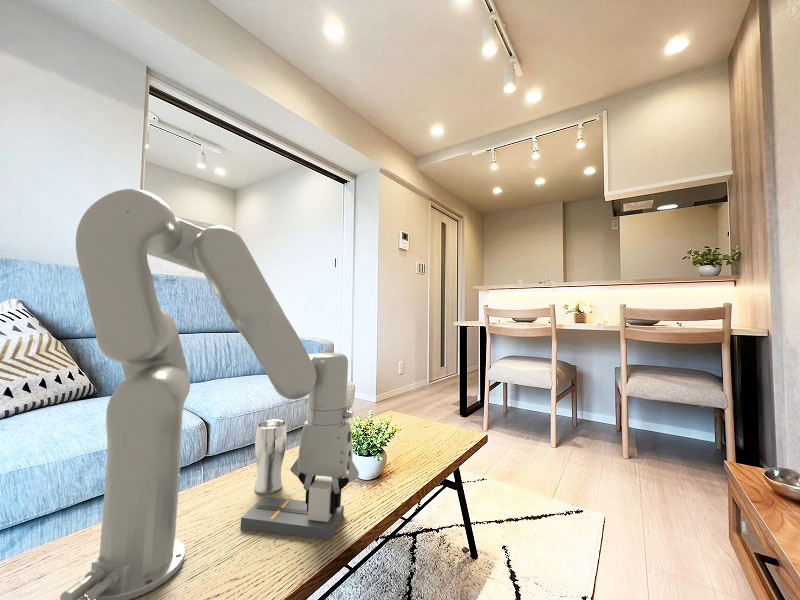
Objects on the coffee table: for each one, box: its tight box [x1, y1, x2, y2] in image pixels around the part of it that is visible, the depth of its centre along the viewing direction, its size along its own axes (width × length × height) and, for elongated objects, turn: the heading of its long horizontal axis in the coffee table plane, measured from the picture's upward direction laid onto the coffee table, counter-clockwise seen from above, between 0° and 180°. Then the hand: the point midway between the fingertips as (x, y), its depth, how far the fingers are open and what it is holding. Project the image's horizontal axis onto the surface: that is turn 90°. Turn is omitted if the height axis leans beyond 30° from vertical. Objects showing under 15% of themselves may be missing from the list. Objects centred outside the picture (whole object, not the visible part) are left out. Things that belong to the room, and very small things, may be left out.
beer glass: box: [254, 419, 287, 495], centre depth 80 cm, size 7×7×15 cm
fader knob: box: [308, 476, 333, 522], centre depth 66 cm, size 5×4×6 cm
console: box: [240, 495, 345, 541], centre depth 67 cm, size 8×18×2 cm, turn 82°
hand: (322, 508), depth 66 cm, fingers closed on fader knob, 4 cm apart
